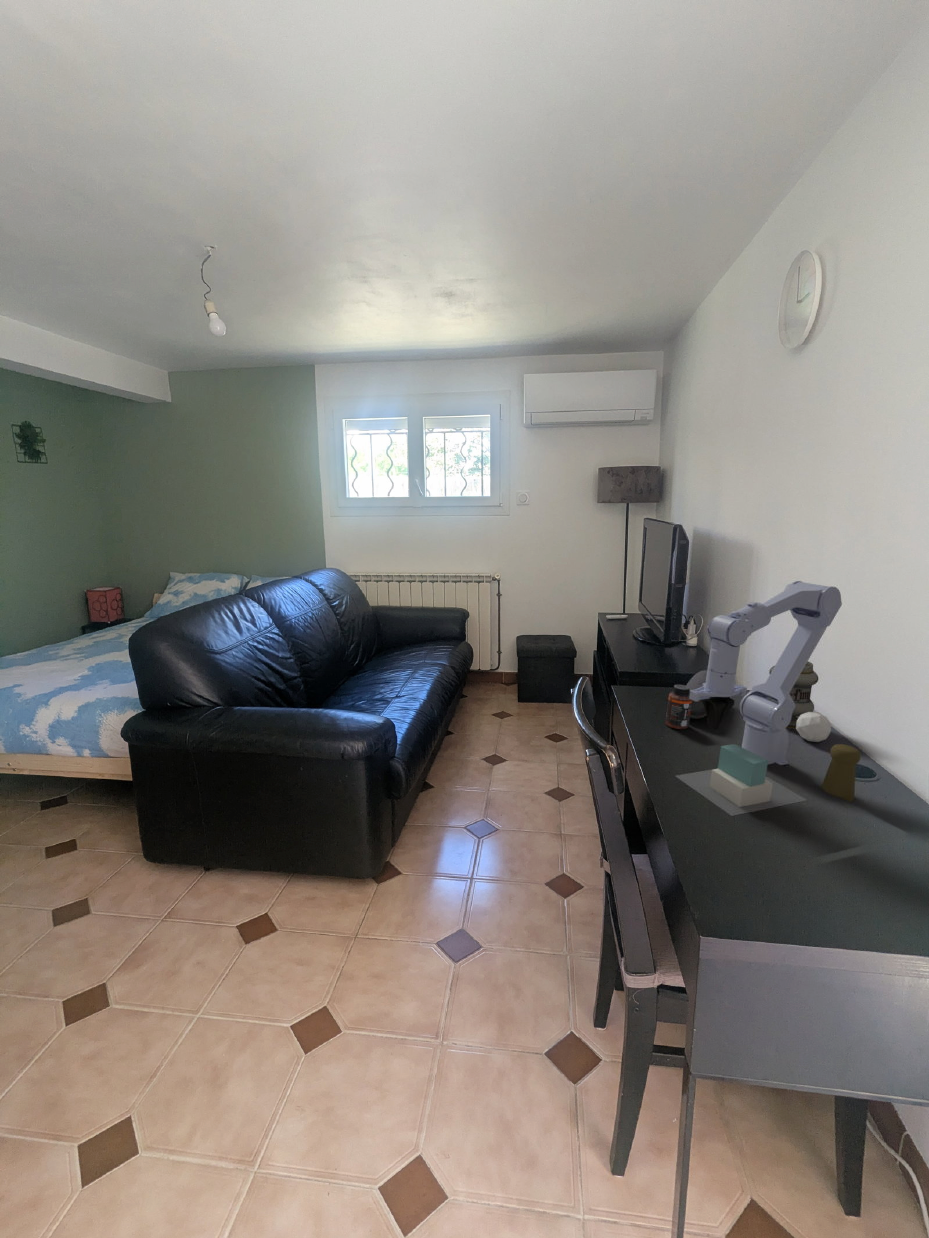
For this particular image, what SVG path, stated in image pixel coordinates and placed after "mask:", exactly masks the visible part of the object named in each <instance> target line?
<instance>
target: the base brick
mask: <svg viewBox="0 0 929 1238" xmlns="http://www.w3.org/2000/svg"><path fill="white" fill-rule="evenodd" d="M711 770H712V769H711ZM772 786H773V783H772V782H770V781H768V780H767V779H765V782H764V783H763V784H759V785H755V786H751V787H750V786H748V785H746V784H745V783H743V782H741V781H739V780H738V779H736V778H734V777H732V776H731V775H729V774H727V773H725V772H724V771H722V770H720V769H718V768H713V770H712V774H711V780H710V787H711V788H712V789H713V790H715V791H716V792H718V793H719V794H721V795H722V796H724V797H725V798H727V799H728V800H730V801H731V802H733V803H734V804H736V805H737V806H739V807H742V806H747V805H752V804H757V803H762V802H767V801H770V798H771V792H772Z"/></svg>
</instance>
